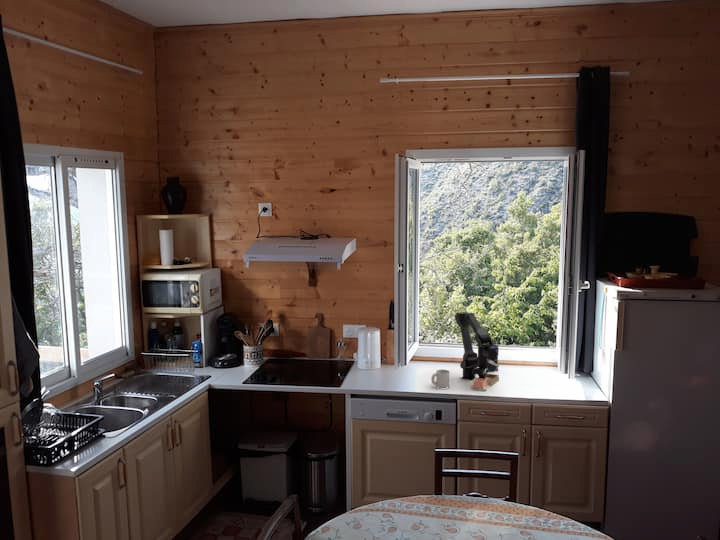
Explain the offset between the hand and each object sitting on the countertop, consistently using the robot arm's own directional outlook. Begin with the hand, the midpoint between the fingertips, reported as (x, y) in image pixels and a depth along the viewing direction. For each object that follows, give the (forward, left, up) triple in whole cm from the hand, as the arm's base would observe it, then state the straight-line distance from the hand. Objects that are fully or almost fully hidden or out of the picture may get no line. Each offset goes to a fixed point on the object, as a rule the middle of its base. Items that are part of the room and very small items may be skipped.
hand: (482, 382), depth 338 cm
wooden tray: (0, +4, -2) cm, 4 cm away
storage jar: (-7, +33, -2) cm, 34 cm away
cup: (-20, -13, -2) cm, 24 cm away
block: (0, -5, -1) cm, 5 cm away
